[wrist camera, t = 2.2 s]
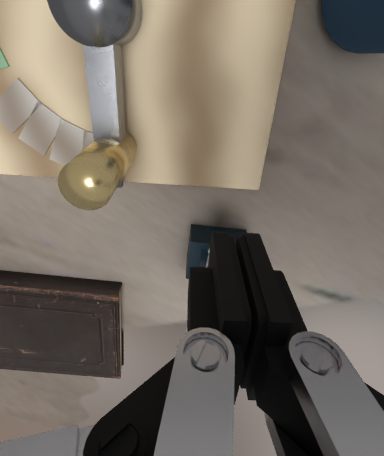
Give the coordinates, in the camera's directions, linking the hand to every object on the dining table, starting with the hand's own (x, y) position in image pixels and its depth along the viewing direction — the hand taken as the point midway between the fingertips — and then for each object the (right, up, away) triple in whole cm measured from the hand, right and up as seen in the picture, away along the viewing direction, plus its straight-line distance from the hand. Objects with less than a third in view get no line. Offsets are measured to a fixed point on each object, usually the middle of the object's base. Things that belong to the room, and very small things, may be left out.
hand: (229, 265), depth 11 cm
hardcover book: (-22, -10, +26) cm, 35 cm away
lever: (-7, +11, +10) cm, 17 cm away
